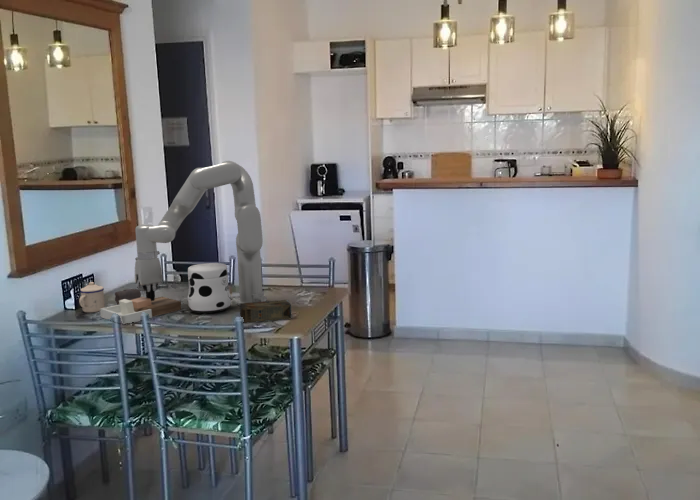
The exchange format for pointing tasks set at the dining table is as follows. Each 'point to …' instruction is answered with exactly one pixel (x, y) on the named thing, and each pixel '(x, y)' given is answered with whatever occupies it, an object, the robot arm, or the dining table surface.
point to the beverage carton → (265, 310)
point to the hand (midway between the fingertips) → (150, 300)
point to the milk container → (208, 288)
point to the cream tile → (126, 306)
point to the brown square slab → (162, 306)
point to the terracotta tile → (141, 302)
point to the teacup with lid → (92, 298)
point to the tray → (127, 318)
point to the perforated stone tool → (127, 295)
